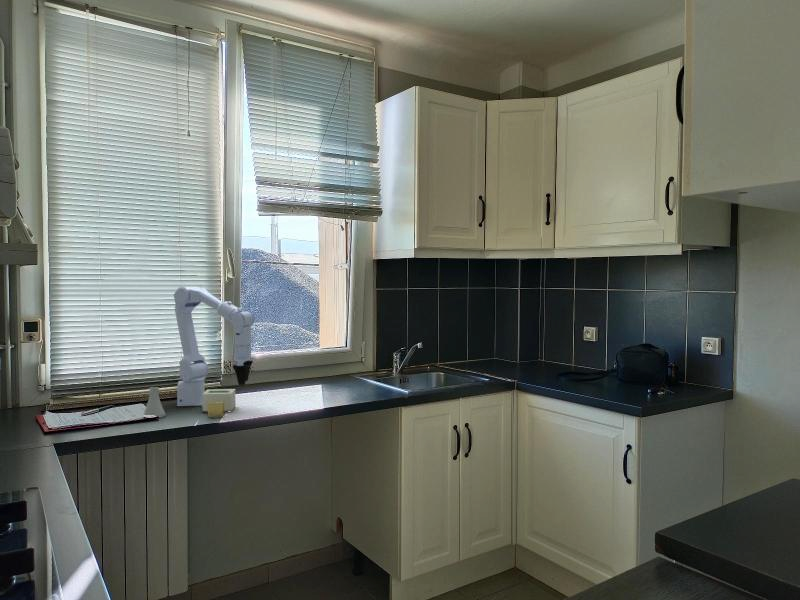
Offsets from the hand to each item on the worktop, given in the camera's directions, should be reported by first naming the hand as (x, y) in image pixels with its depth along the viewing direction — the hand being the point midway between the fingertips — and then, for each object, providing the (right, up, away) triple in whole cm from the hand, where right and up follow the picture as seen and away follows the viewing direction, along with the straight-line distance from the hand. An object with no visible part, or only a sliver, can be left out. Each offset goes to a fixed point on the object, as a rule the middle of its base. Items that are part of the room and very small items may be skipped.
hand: (243, 382), depth 216 cm
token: (-6, -10, -10) cm, 16 cm away
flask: (-28, -10, -11) cm, 31 cm away
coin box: (-9, -10, 0) cm, 13 cm away
